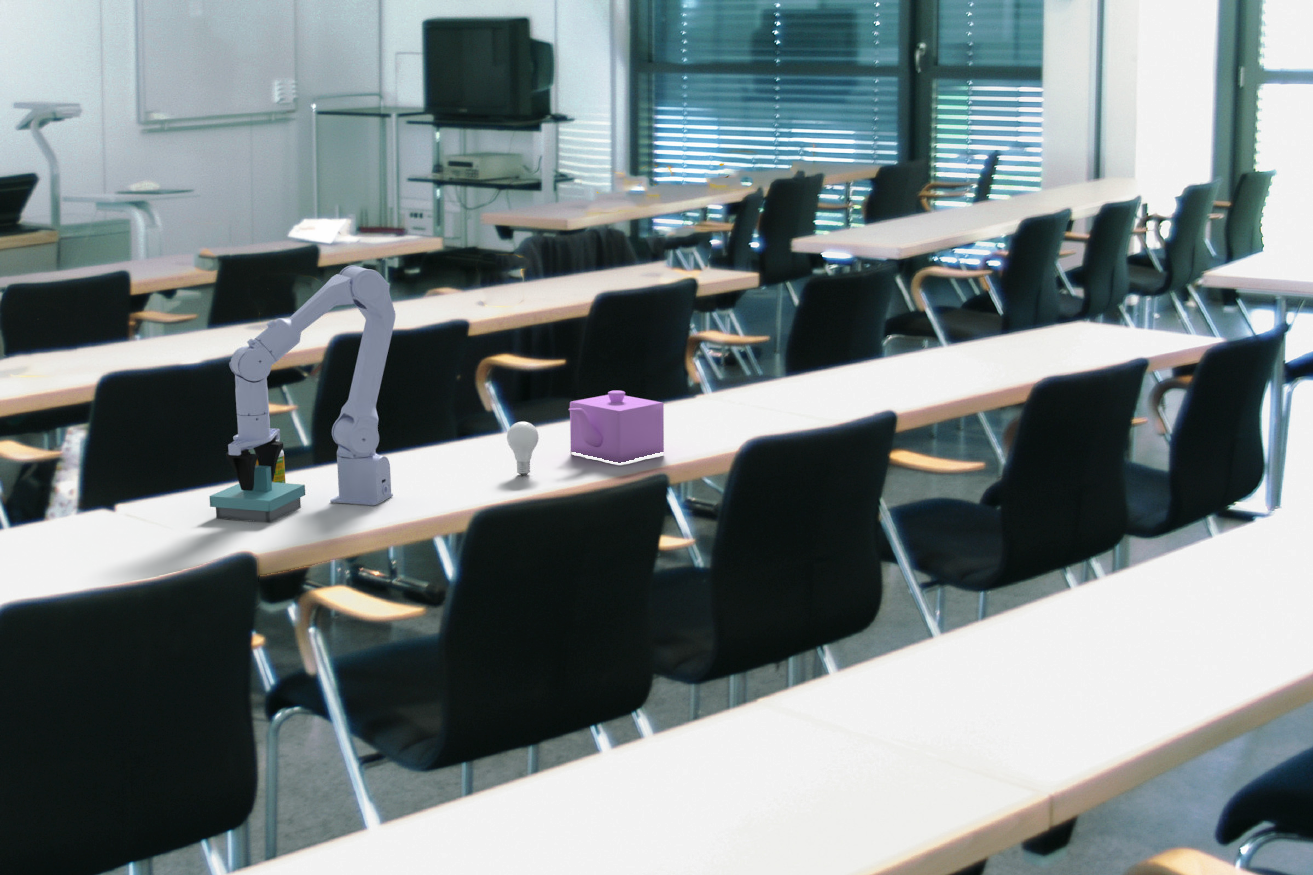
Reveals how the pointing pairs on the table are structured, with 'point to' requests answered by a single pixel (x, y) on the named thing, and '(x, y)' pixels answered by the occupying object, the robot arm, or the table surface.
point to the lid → (258, 493)
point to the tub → (257, 513)
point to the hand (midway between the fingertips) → (257, 485)
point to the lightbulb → (522, 444)
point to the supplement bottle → (279, 468)
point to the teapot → (616, 427)
